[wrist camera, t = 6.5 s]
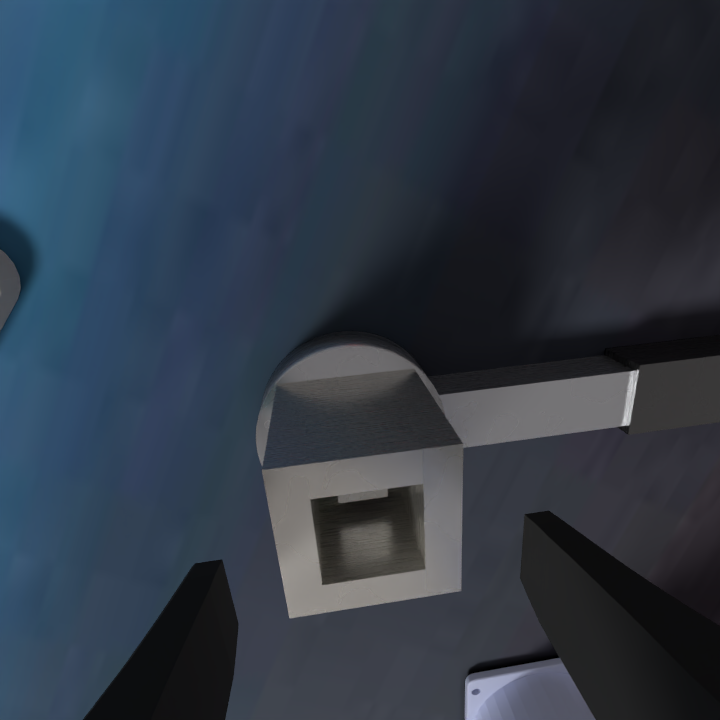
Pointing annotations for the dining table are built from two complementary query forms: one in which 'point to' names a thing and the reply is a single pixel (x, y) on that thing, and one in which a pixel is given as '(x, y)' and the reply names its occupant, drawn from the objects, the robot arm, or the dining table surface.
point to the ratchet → (530, 389)
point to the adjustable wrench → (8, 287)
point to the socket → (361, 474)
